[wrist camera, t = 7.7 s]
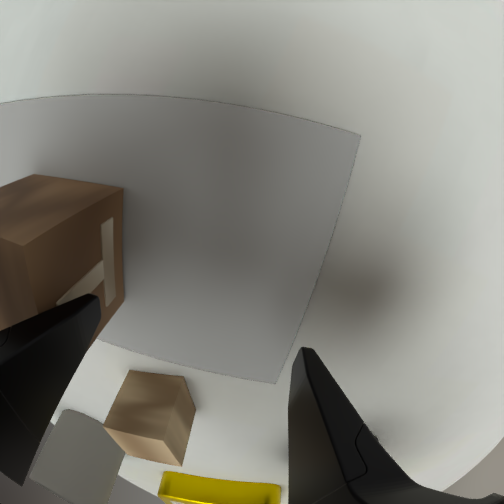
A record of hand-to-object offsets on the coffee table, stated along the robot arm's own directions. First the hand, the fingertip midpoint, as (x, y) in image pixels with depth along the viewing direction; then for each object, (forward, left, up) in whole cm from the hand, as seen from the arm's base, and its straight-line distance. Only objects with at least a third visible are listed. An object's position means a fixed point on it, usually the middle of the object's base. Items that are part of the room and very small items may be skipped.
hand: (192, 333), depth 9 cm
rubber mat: (+7, 0, -5) cm, 8 cm away
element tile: (-5, +37, -5) cm, 37 cm away
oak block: (+3, +11, -5) cm, 12 cm away
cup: (+12, +25, -5) cm, 28 cm away
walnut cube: (+5, 0, -1) cm, 5 cm away
